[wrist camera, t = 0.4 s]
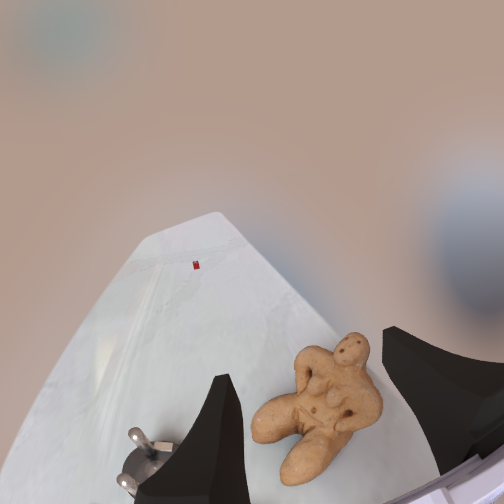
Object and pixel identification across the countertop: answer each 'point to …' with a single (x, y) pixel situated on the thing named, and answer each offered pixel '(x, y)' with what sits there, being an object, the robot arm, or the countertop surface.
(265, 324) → the countertop surface
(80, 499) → the countertop surface
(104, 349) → the countertop surface
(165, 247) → the countertop surface
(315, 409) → the figurine
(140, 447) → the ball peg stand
